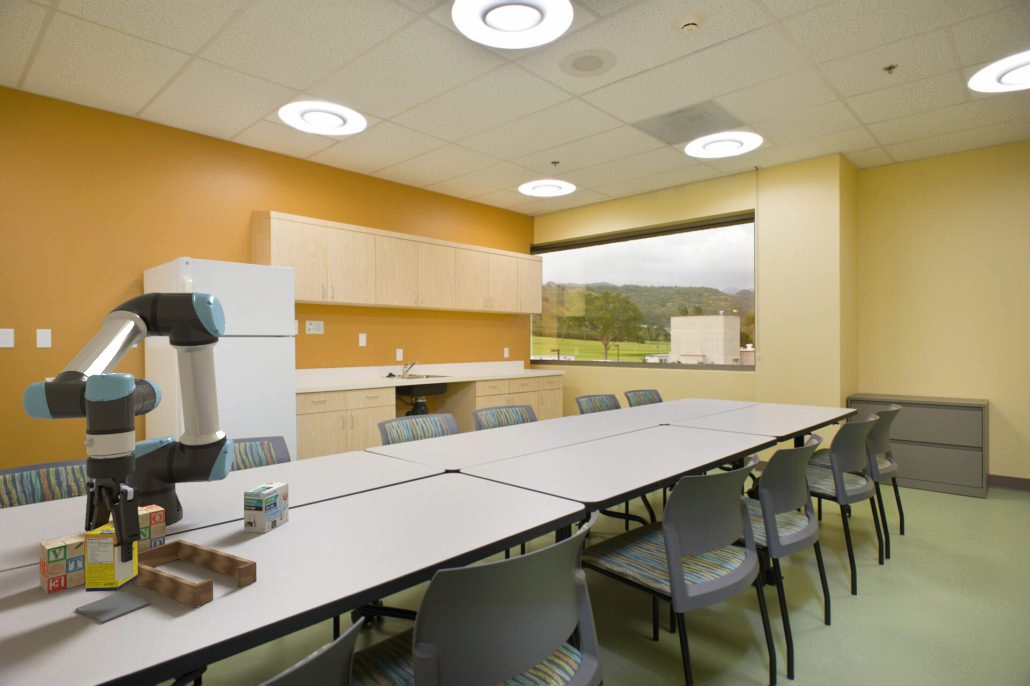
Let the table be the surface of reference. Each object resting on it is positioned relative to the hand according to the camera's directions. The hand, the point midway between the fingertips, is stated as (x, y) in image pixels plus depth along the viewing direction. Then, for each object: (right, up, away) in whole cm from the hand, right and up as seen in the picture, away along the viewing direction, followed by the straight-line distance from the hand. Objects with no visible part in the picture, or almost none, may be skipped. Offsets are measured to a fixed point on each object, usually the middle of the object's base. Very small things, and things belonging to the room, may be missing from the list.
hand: (112, 573), depth 105 cm
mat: (0, -7, 0) cm, 7 cm away
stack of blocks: (-13, -7, +16) cm, 22 cm away
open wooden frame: (+7, -6, +12) cm, 16 cm away
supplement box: (0, -2, 0) cm, 2 cm away
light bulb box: (+9, -6, +45) cm, 47 cm away
